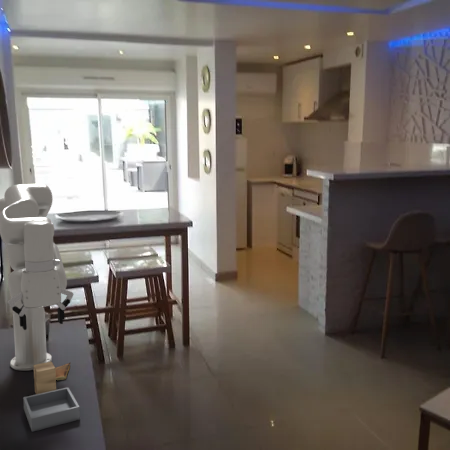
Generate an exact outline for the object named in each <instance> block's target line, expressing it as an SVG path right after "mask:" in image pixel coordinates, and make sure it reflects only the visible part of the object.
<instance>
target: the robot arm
mask: <svg viewBox="0 0 450 450" xmlns="http://www.w3.org/2000/svg"><path fill="white" fill-rule="evenodd" d="M53 201H54V200H53V194H52V190H51V189H50V187H49V186H48V185H47V184H44V183H21V184H20V183H18V184H13V185H11V186H9V187H8V188H6V190H5V192H4V198H0V238H1V240H2V242H3V243H5V249H6V255H7V260H8V263H9V266H10V267H11V269H12V270H13V271H11V272H10V273H9V274H8V277H7V278H8V279H7V285H8V290H9V295H10V299H8V300H7V304H8V305H9V307H10V308H11V310H12V320H13V321H12V322H13V339H14V357H13V358H11V359H10V367H11V368H12V369H13V370H16V371H34V365H36V364H41V363H46V362H51V361H52V360H53V358H52V355H51V354H50V353H48V352H47V338H46V337H47V336H46V334H47V333H46V332H47V331H46V312H45V307H50V306H55V305H56V306H57V321H58V324H59V325H63V322H64V321H65V318H66V317H65V310H66V308H67V307H68V306H69V304H70V303H71V300H72V299H73V297H74V292H73V291H70V290H67V285H68V280H67V274H66V270H65V267H64V263H63V261H62V256H61V252H60V249H59V247H58V245H57V244H56V243H55V242H54V235H55V224H54V223H53V222H52V220H51V219H50V218H49V217H47V216H48V214H49V212H50V211H51V207H52V205H53ZM62 295H65V296H66V297H65V299H64V300H63V301H62ZM63 320H64V321H63Z"/></svg>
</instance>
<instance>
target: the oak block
mask: <svg viewBox="0 0 450 450" xmlns="http://www.w3.org/2000/svg"><path fill="white" fill-rule="evenodd" d="M55 368H56V366H55V365H54V363H53V362H52V361H51V362H46V363H41V364H36V365H34V370H33V379H34V380H33V381H34V392H35V395H36V394H41V393H45V392H49V391H54V390H57V381H56V372H55Z"/></svg>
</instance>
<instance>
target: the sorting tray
mask: <svg viewBox="0 0 450 450" xmlns="http://www.w3.org/2000/svg"><path fill="white" fill-rule="evenodd" d="M22 399H23V410H24V414H25V417H26V418H27V421H28V422H27V423H28V424H29V428H30V431H31V432H32V433H33V432H36V431H40V430H41V431H42V430H44V429H50V428H52V427H56V426H57V427H58V426H61V425H63V424H67V423H71V422H75V421H80V420H81V414H80V413H81V411H80V410H81V409H80V408H81V407H80V405H79V403H78V402H77V400H76V398H75V396H74V394H73V393H72V391H71V390H70V387H63V388H59V389H58V388H57V389H56V390H54V391H49V392H45V393H41V394H36V393H35V394H33V395H29V396H23V398H22Z"/></svg>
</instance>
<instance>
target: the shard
mask: <svg viewBox="0 0 450 450" xmlns="http://www.w3.org/2000/svg"><path fill="white" fill-rule="evenodd" d="M70 369H71V361H70V362H68V363H65V364H63V365H60V366H57V367H56V366H55V372H56V380H57V381H62V380H66V379H67V376H68V373H69V371H70Z"/></svg>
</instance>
